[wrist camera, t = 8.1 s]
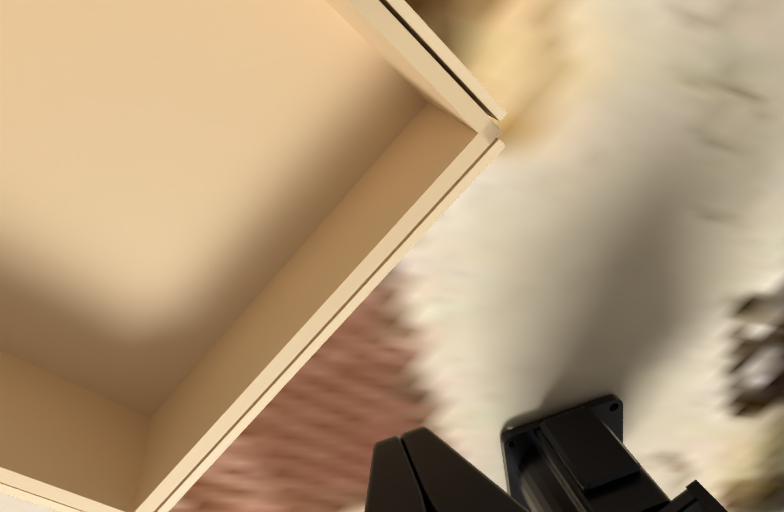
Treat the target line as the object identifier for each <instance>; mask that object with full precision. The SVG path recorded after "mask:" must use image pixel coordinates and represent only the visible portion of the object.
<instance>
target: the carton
mask: <svg viewBox="0 0 784 512" xmlns="http://www.w3.org/2000/svg"><path fill="white" fill-rule="evenodd" d="M488 115H489V116H491V117H493V118H495V119H497V120H499V121H501V120H502V119H503V118H504V117H505V116H506V115H507V111H506V110H505V109H504V108H503V107H502V106H501V105H500V104H499V103H498V102H497V101H496V99H495V98H494V97H493V96H492V95H491V94H490V93H489V92H488V91H487V90H486V89H485V87H484V86H483V85H482V84H481V83H480V82H479V81H478V80H477V79H476V78H475V77H474V76H473V74H472V73H471V72H470V71H469V70H468V69H467V68H466V67H465V66H464V65H463V64H462V62H461V61H460V60H459V59H458V58H457V57H456V56H455V55H454V54H453V53H452V52H451V50H450V49H449V48H448V47H447V46H446V45H445V44H444V43H443V42H442V41H441V40H440V38H439V37H438V36H437V35H436V34H435V33H434V32H433V31H432V30H431V29H430V28H429V27H428V25H427V24H426V23H425V22H424V21H423V20H422V19H421V18H420V17H419V16H418V15H417V13H416V12H415V11H414V10H413V9H412V8H411V7H410V6H409V5H408V4H407V3H406V1H405V0H0V492H1V493H4V494H7V495H10V496H13V497H16V498H19V499H22V500H25V501H28V502H31V503H34V504H37V505H40V506H43V507H46V508H49V509H52V510H55V511H57V512H168V511H169V510H170V509H171V508H172V507H173V506H174V505H175V504H176V503H177V502H178V500H179V499H180V498H181V497H182V496H183V495H184V494H185V493H186V492H187V491H188V490H189V489H190V487H191V486H192V485H193V484H194V483H195V482H196V481H197V480H198V479H199V478H200V477H201V476H202V474H203V473H204V472H205V471H206V470H207V469H208V468H209V467H210V466H211V465H212V464H213V463H214V461H215V460H216V459H217V458H218V457H219V456H220V455H221V454H222V453H223V452H224V451H225V450H226V448H227V447H228V446H229V445H230V444H231V443H232V442H233V441H234V440H235V439H236V438H237V437H238V435H239V434H240V433H241V432H242V431H243V430H244V429H245V428H246V427H247V426H248V425H249V424H250V422H251V421H252V420H253V419H254V418H255V417H256V416H257V415H258V414H259V413H260V412H261V411H262V409H263V408H264V407H265V406H266V405H267V404H268V403H269V402H270V401H271V400H272V399H273V398H274V396H275V395H276V394H277V393H278V392H279V391H280V390H281V389H282V388H283V387H284V386H285V384H286V383H287V382H288V381H289V380H290V379H291V378H292V377H293V376H294V375H295V374H296V373H297V371H298V370H299V369H300V368H301V367H302V366H303V365H304V364H305V363H306V362H307V361H308V360H309V358H310V357H311V356H312V355H313V354H314V353H315V352H316V351H317V350H318V349H319V348H320V347H321V345H322V344H323V343H324V342H325V341H326V340H327V339H328V338H329V337H330V336H331V335H332V334H333V332H334V331H335V330H336V329H337V328H338V327H339V326H340V325H341V324H342V323H343V322H344V321H345V319H346V318H347V317H348V316H349V315H350V314H351V313H352V312H353V311H354V310H355V309H356V308H357V306H358V305H359V304H360V303H361V302H362V301H363V300H364V299H365V298H366V297H367V296H368V295H369V293H370V292H371V291H372V290H373V289H374V288H375V287H376V286H377V285H378V284H379V283H380V282H381V280H382V279H383V278H384V277H385V276H386V275H387V274H388V273H389V272H390V271H391V270H392V269H393V267H394V266H395V265H396V264H397V263H398V262H399V261H400V260H401V259H402V258H403V257H404V256H405V254H406V253H407V252H408V251H409V250H410V249H411V248H412V247H413V246H414V245H415V244H416V243H417V241H418V240H419V239H420V238H421V237H422V236H423V235H424V234H425V233H426V232H427V231H428V229H429V228H430V227H431V226H432V225H433V224H434V223H435V222H436V221H437V220H438V219H439V218H440V216H441V215H442V214H443V213H444V212H445V211H446V210H447V209H448V208H449V207H450V206H451V205H452V203H453V202H454V201H455V200H456V199H457V198H458V197H459V196H460V195H461V194H462V193H463V192H464V190H465V189H466V188H467V187H468V186H469V185H470V184H471V183H472V182H473V181H474V180H475V179H476V177H477V176H478V175H479V174H480V173H481V172H482V171H483V170H484V169H485V168H486V167H487V166H488V164H489V163H490V162H491V161H492V160H493V159H494V158H495V157H496V156H497V155H498V154H499V153H500V151H501V150H502V149H503V148H504V147H505V144H504V143H503V142H502V141H501V140H500V139H498V138H497V136H498V135H499V134H500V133H501V132H502V130H501V129H500V128H499V127H498V126H497V125H496V124H495V123H494V121H493V120H492V119H491V118H490V117H489V116H488Z"/></svg>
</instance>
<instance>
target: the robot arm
mask: <svg viewBox="0 0 784 512" xmlns="http://www.w3.org/2000/svg"><path fill="white" fill-rule="evenodd" d="M511 440H512V441H511ZM501 448H502V455H503V462H504V469H505V476H506V483H507V490H508V494H507V493H506V492H505V491H504V490H503V489H501V488H500V487H499V486H498V485H496V484H495V483H494V482H493V481H492V480H490V479H489V478H488V477H487V476H486V475H484V474H483V473H482V472H481V471H479V470H478V469H477V468H476V467H475V466H473V465H472V464H471V463H470V462H469V461H467V460H466V459H465V458H464V457H462V456H461V455H460V454H459V453H458V452H456V451H455V450H454V449H453V448H451V447H450V446H449V445H448V444H447V443H445V442H444V441H443V440H442V439H441V438H439V437H438V436H437V435H436V434H434V433H433V432H432V431H431V430H430V429H428V428H427V427H419V428H416V429H413V430H411V431H408V432H405V433H403V434H402V436H401V438H400V437H399V436H393V437H390V438H388V439H385V440H382V441H379V442H377V443H376V444H375V445H374V448H373V455H372V462H371V469H370V476H369V483H368V490H367V497H366V504H365V511H364V512H728V511H727V510H726V509H725V508H724V507H723V506H722V505H721V504H720V503H719V502H718V501H717V500H716V499H715V498H714V497H713V496H712V495H711V494H710V493H709V492H708V491H707V490H706V489H705V488H704V487H703V486H702V485H701V484H700V483H699V482H698V481H697V480H694V481H693V482H691V483H690V484H689V485H687V486H686V488H687V489H686V490H685V491H684V492H682V493H681V494H679V495H678V496H677V497H675V498H674V499H673V500H670V499H669V498H668V496H667V495H666V494H665V493H664V492H663V491H662V489H661V488H660V487H659V486H658V485H657V484H656V482H655V481H654V480H653V479H652V478H651V476H650V475H649V474H648V473H647V472H646V471H645V469H644V468H643V467H642V466H641V465H640V463H639V462H638V461H637V460H636V459H635V458H634V456H633V455H632V454H631V453H630V452H629V450H628V449H627V448H626V447H625V446H624V445H623V403H622V401H621V400H620V399H619V398H618V397H617V396H616V395H614V394H611V395H607V396H604V397H602V398H599V399H596V400H593V401H590V402H588V403H585V404H582V405H579V406H576V407H573V408H571V409H568V410H565V411H562V412H559V413H557V414H554V415H551V416H548V417H545V418H542V419H540V420H537V421H534V422H531V423H528V424H526V425H523V426H520V427H517V428H514V429H512V430H509V431H507V432H505V433H504V434H503V435H502V437H501Z"/></svg>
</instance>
